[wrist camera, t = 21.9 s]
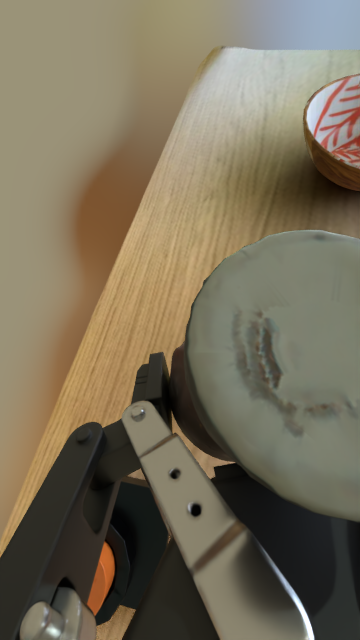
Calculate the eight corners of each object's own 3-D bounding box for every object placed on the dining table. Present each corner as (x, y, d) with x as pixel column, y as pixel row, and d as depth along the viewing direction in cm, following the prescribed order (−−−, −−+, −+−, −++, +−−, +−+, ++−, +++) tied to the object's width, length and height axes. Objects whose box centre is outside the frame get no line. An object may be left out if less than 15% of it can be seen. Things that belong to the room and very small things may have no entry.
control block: (37, 574, 25) (8, 604, 21) (68, 462, 29) (48, 471, 25) (158, 611, 23) (150, 652, 19) (175, 487, 27) (171, 500, 23)
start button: (59, 594, 21) (42, 616, 19) (75, 530, 23) (62, 543, 21) (107, 609, 21) (96, 634, 19) (120, 542, 22) (112, 557, 20)
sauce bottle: (170, 410, 21) (-32, 451, 3) (195, 351, 23) (173, 141, 5) (236, 443, 20) (694, 969, 1) (258, 378, 22) (587, 225, 3)
